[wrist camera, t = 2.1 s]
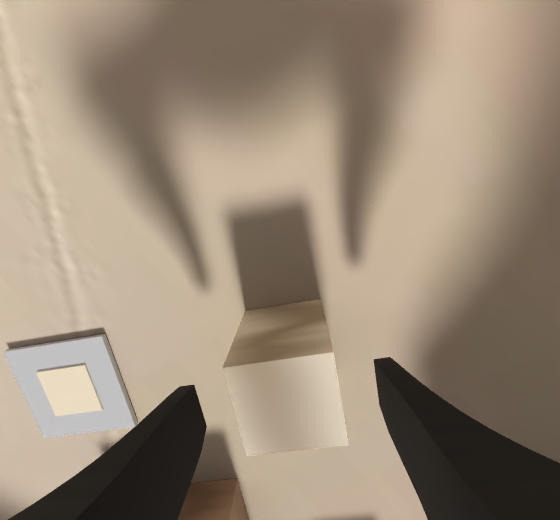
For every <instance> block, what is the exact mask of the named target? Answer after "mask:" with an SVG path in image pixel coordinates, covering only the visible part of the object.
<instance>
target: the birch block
mask: <svg viewBox="0 0 560 520" xmlns="http://www.w3.org/2000/svg"><path fill="white" fill-rule="evenodd" d="M223 371H224V375H225V379H226V382H227V386H228V390H229V393H230V397H231V401H232V405H233V408H234V412H235V416H236V419H237V423H238V427H239V431H240V434H241V438H242V442H243V445H244V449H245V453H246V456H254V455H263V454H272V453H281V452H290V451H299V450H308V449H317V448H326V447H335V446H344V445H349V444H348V438H347V432H346V426H345V419H344V413H343V407H342V401H341V395H340V389H339V383H338V377H337V371H336V365H335V359H334V353H333V348H332V344H331V340H330V336H329V332H328V328H327V324H326V320H325V315H324V311H323V307H322V303H321V299H316V300H310V301H304V302H297V303H291V304H285V305H278V306H272V307H266V308H260V309H253V310H247V311H245V313H244V316H243V318H242V321H241V323H240V326H239V328H238V331H237V333H236V336H235V338H234V341H233V343H232V346H231V348H230V351H229V353H228V356H227V358H226V361H225V363H224V366H223Z"/></svg>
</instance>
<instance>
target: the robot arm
mask: <svg viewBox="0 0 560 520" xmlns="http://www.w3.org/2000/svg"><path fill="white" fill-rule="evenodd" d="M374 366H375V373H376V381H377V389H378V397H379V405H380V408H381V411H382V414H383V417H384V420H385V423H386V425H387V428H388V431H389V434H390V436H391V438H392V440H393V442H394V445H395V447H396V449H397V451H398V453H399V456H400V458H401V460H402V462H403V464H404V466H405V469H406V471H407V473H408V475H409V477H410V480H411V482H412V484H413V486H414V488H415V490H416V493H417V495H418V497H419V499H420V502H421V504H422V506H423V509H424V511H425V514H426V516H427V519H428V520H560V463H558V462H556V461H553V460H551V459H549V458H547V457H545V456H542V455H540V454H538V453H536V452H534V451H532V450H530V449H528V448H526V447H524V446H522V445H520V444H518V443H516V442H514V441H512V440H510V439H508V438H506V437H504V436H502V435H500V434H499V433H497V432H495V431H493V430H491V429H489V428H488V427H486V426H484V425H483V424H481V423H479V422H478V421H476V420H474V419H473V418H471V417H469V416H467V415H466V414H464V413H463V412H461V411H460V410H458V409H456V408H455V407H454V406H452V405H451V404H449V403H448V402H446V401H445V400H443V399H442V398H441V397H439V396H438V395H436V394H435V393H434V392H433V391H431V390H430V389H429V388H427V387H426V386H425V385H423V384H422V383H421V382H419V381H418V380H417V379H416V378H414V377H413V376H412V375H411V374H410V373H408V372H407V371H406V370H405V369H404V368H402V367H401V366H400V365H399V364H398V363H397V362H395V361H394V360H393V359H392V358H390V357H388V358H380V359H374ZM206 427H207V426H206V422H205V419H204V416H203V413H202V409H201V406H200V403H199V399H198V396H197V393H196V390H195V386H194V385H188V386H181V387H179V388H177V389H176V390H175V391H174V392H173V393H171V394H170V395H169V396H168V397H167V398H166V399H165V400H164V401H163V402H162V403H161V404H159V405H158V406H157V407H156V408H155V409H154V410H153V411H152V412H151V413H150V414H149V415H148V416H146V417H145V418H144V419H143V420H142V421H141V422H140V423H139V424H138V425H137V426H136V427H134V428H133V429H132V430H131V431H130V432H129V433H127V434H126V435H125V436H124V437H123V438H122V439H120V440H119V441H118V442H117V443H116V444H115V445H114V446H112V447H111V448H110V449H109V450H108V451H106V452H105V453H104V454H103V455H101V456H100V457H99V458H98V459H96V460H95V461H94V462H92V463H91V464H90V465H88V466H87V467H86V468H84V469H83V470H82V471H80V472H79V473H78V474H76V475H75V476H74V477H72V478H71V479H69V480H68V481H66V482H65V483H64V484H62V485H61V486H59V487H58V488H56V489H55V490H53V491H52V492H50V493H49V494H47V495H46V496H44V497H43V498H42V499H40V500H39V501H37V502H35V503H34V504H32V505H31V506H29V507H28V508H26V509H24V510H23V511H21V512H20V513H18V514H16V515H15V516H13V517H11V518H10V519H8V520H178V517H179V514H180V512H181V509H182V506H183V503H184V500H185V497H186V495H187V492H188V489H189V486H190V483H191V480H192V478H193V475H194V472H195V469H196V466H197V463H198V460H199V457H200V454H201V450H202V446H203V441H204V437H205V432H206Z"/></svg>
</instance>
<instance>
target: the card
mask: <svg viewBox="0 0 560 520" xmlns="http://www.w3.org/2000/svg"><path fill="white" fill-rule="evenodd" d="M4 354H5V357H6V359H7V361H8V363H9V365H10V367H11V369H12V372H13V374H14V376H15V378H16V380H17V382H18V384H19V387H20V389H21V391H22V393H23V395H24V397H25V399H26V401H27V404H28V406H29V408H30V410H31V412H32V414H33V416H34V419H35V421H36V423H37V425H38V427H39V429H40V431H41V434H42V436H43V438H51V437H58V436H66V435H74V434H82V433H90V432H98V431H106V430H114V429H122V428H130V427H136V425H137V424H138V421H137V418H136V416H135V413H134V410H133V408H132V405H131V402H130V399H129V397H128V394H127V391H126V389H125V386H124V383H123V380H122V378H121V375H120V372H119V370H118V367H117V364H116V361H115V359H114V356H113V353H112V351H111V348H110V345H109V342H108V340H107V337H106V334H100V335H93V336H87V337H81V338H75V339H68V340H62V341H56V342H50V343H43V344H37V345H31V346H25V347H18V348H12V349H8V350H6V351H4Z"/></svg>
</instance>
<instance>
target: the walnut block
mask: <svg viewBox="0 0 560 520" xmlns="http://www.w3.org/2000/svg"><path fill="white" fill-rule="evenodd" d="M178 520H249V518H248V514H247V511H246V507H245V504H244V500H243V497H242V493H241V489H240V486H239V482H238V479H237V478H236V479H226V480H216V481H206V482H196V483H190V486H189V489H188V492H187V495H186V497H185V500H184V503H183V506H182V509H181V512H180V514H179V517H178Z"/></svg>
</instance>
